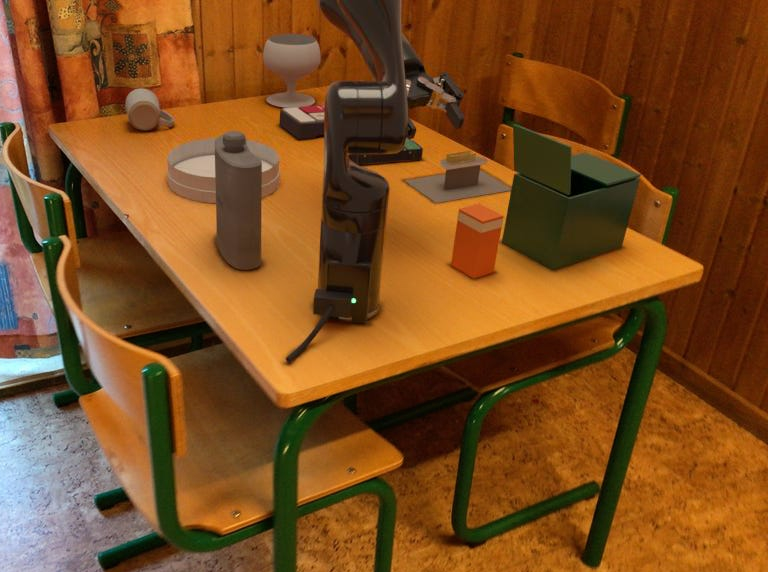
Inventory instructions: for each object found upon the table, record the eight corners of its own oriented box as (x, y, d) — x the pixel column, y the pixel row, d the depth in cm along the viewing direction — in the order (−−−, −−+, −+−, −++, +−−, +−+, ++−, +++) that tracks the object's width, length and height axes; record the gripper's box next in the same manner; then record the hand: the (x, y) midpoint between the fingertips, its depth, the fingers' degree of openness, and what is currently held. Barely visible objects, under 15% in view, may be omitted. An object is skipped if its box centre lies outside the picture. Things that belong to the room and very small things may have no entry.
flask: (210, 233, 147) (207, 119, 135) (243, 230, 148) (242, 117, 137) (228, 272, 135) (226, 151, 123) (264, 269, 136) (265, 149, 125)
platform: (403, 180, 169) (407, 148, 165) (478, 168, 175) (483, 137, 172) (435, 202, 160) (440, 169, 156) (513, 189, 166) (519, 157, 163)
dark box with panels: (360, 116, 190) (300, 120, 185) (357, 135, 193) (298, 139, 187) (337, 102, 199) (279, 106, 193) (336, 120, 201) (278, 124, 195)
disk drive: (357, 167, 175) (422, 160, 178) (358, 154, 173) (424, 147, 177) (340, 149, 183) (403, 143, 187) (340, 137, 181) (404, 131, 185)
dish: (256, 211, 155) (256, 185, 152) (147, 193, 160) (145, 168, 158) (294, 169, 172) (295, 145, 170) (195, 154, 178) (194, 131, 175)
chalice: (329, 105, 209) (332, 42, 200) (281, 113, 202) (282, 49, 194) (299, 90, 218) (301, 30, 210) (252, 98, 212) (252, 36, 204)
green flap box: (553, 270, 138) (570, 194, 131) (501, 242, 146) (514, 169, 139) (621, 247, 146) (641, 174, 138) (569, 222, 154) (585, 152, 147)
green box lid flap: (570, 194, 131) (568, 195, 131) (515, 169, 139) (513, 170, 139) (571, 146, 125) (569, 147, 125) (514, 123, 134) (512, 124, 134)
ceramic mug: (129, 133, 188) (126, 98, 184) (126, 121, 195) (124, 88, 190) (176, 131, 190) (175, 97, 186) (172, 120, 197) (171, 87, 193)
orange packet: (473, 279, 135) (483, 221, 129) (450, 265, 139) (458, 208, 133) (493, 272, 137) (504, 215, 131) (470, 259, 141) (479, 203, 135)
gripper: (357, 47, 132) (403, 120, 125) (435, 34, 136) (484, 103, 129) (347, 85, 138) (391, 156, 131) (422, 71, 142) (468, 139, 136)
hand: (437, 130), depth 130 cm, fingers open, 8 cm apart
